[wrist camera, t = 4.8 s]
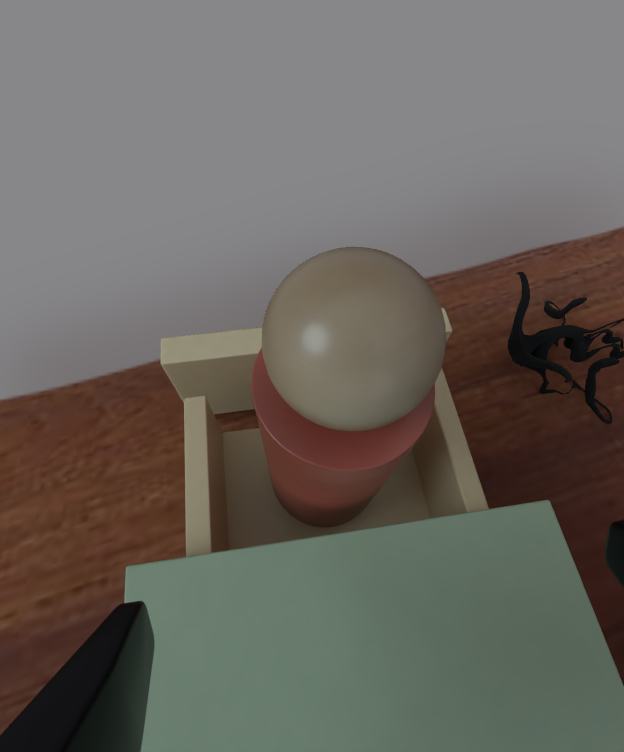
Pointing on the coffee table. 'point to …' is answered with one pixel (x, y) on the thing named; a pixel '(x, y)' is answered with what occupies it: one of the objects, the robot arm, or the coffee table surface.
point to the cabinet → (382, 643)
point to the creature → (536, 346)
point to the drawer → (249, 465)
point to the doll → (345, 379)
